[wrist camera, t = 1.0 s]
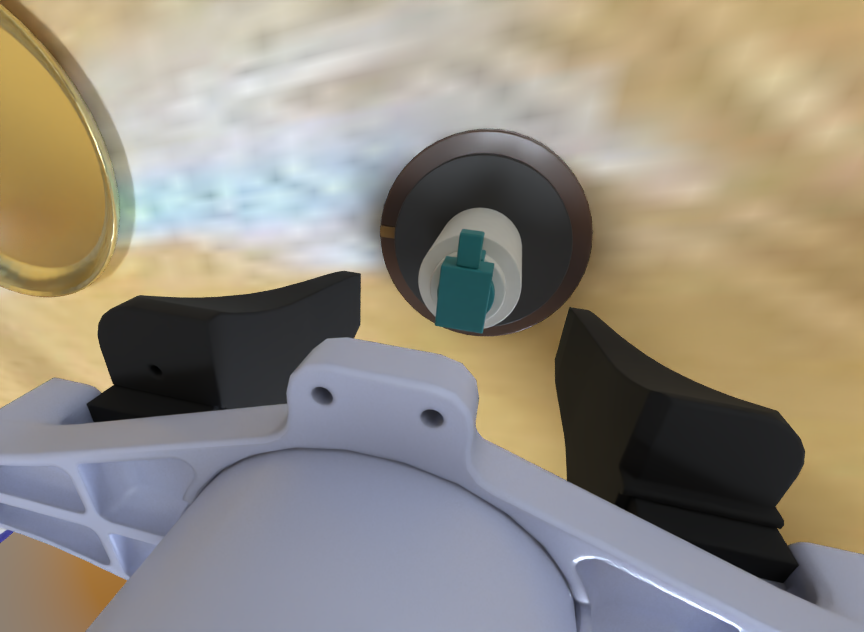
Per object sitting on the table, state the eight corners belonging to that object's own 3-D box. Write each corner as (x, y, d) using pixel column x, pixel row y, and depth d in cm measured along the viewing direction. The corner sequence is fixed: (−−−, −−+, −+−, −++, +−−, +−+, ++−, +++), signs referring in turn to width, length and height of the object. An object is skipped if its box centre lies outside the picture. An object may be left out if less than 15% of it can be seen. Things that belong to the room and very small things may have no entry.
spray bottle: (549, 335, 23) (559, 428, 16) (393, 308, 24) (343, 385, 17) (593, 164, 19) (632, 196, 12) (401, 142, 20) (339, 160, 13)
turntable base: (561, 343, 24) (563, 353, 23) (382, 312, 26) (376, 320, 25) (617, 142, 19) (622, 143, 18) (389, 117, 20) (382, 117, 19)
